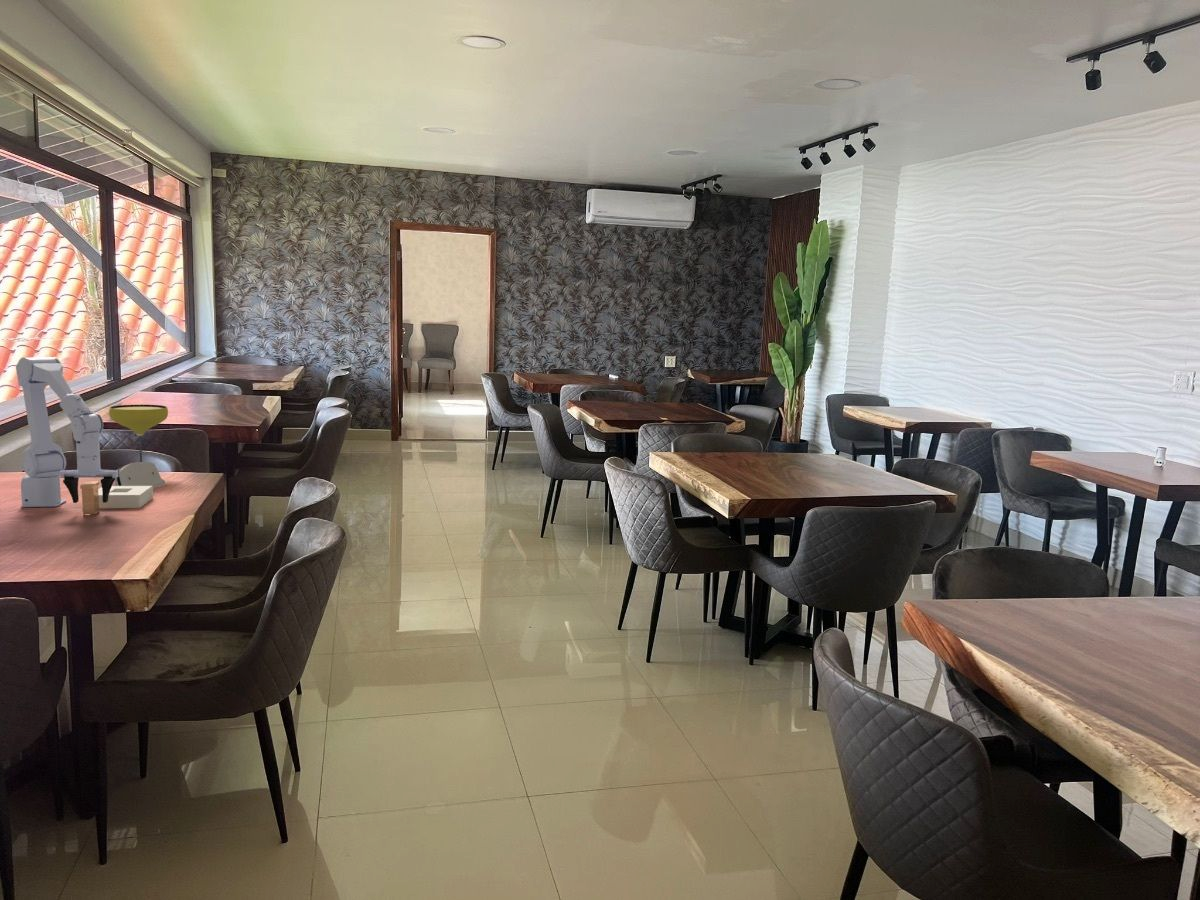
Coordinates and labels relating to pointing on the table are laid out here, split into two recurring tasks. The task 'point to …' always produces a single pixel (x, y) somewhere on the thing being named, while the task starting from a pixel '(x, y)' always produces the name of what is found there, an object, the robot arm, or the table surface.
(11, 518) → the table surface
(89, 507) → the t-shaped block
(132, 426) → the cocktail glass
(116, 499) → the well block
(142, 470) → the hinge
